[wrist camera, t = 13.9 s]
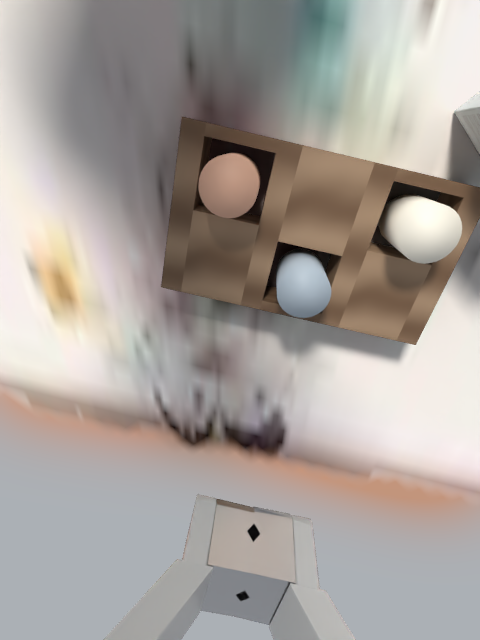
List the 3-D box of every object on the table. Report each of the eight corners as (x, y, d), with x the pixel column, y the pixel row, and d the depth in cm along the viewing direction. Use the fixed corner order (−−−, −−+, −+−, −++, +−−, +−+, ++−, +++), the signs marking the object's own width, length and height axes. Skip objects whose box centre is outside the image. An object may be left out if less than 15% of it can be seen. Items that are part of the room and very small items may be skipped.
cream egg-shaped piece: (390, 188, 32) (414, 197, 27) (440, 200, 32) (473, 211, 27) (371, 238, 34) (389, 256, 29) (418, 249, 35) (445, 269, 29)
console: (192, 119, 33) (181, 116, 29) (466, 184, 34) (493, 190, 30) (172, 272, 40) (161, 287, 36) (401, 324, 40) (415, 344, 36)
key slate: (282, 243, 35) (284, 262, 30) (328, 254, 35) (338, 274, 30) (271, 287, 37) (271, 311, 32) (314, 297, 37) (321, 322, 32)
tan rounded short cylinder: (215, 146, 32) (203, 147, 27) (265, 158, 32) (264, 162, 27) (206, 200, 34) (194, 210, 29) (254, 211, 34) (250, 224, 29)
